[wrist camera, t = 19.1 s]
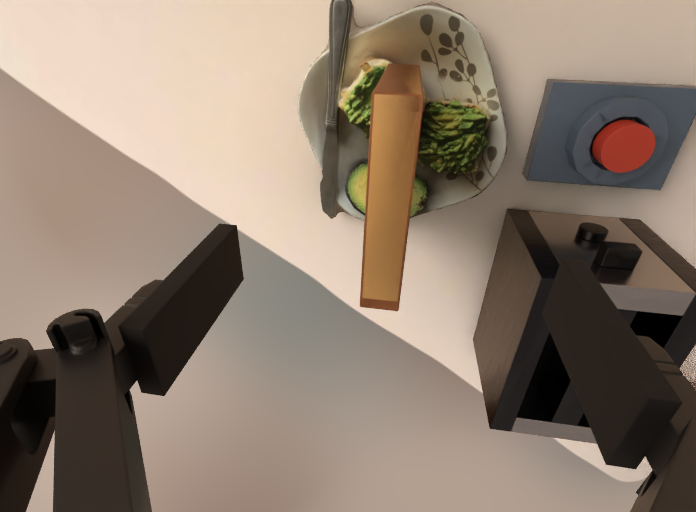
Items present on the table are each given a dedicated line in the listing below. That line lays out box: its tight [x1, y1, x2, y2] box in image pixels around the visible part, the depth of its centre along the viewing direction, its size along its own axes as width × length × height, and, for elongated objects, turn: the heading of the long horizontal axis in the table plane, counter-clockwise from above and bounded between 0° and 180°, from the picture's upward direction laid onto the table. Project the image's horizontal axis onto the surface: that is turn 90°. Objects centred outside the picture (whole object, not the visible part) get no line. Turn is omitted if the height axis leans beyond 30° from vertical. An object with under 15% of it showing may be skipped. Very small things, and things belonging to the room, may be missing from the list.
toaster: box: [473, 209, 696, 444], centre depth 36 cm, size 12×19×12 cm, turn 178°
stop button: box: [592, 120, 656, 173], centre depth 30 cm, size 4×4×2 cm
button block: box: [522, 79, 696, 190], centre depth 32 cm, size 11×8×4 cm
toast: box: [360, 64, 424, 311], centre depth 26 cm, size 2×12×14 cm, turn 178°
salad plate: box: [298, 0, 507, 221], centre depth 33 cm, size 19×18×5 cm
